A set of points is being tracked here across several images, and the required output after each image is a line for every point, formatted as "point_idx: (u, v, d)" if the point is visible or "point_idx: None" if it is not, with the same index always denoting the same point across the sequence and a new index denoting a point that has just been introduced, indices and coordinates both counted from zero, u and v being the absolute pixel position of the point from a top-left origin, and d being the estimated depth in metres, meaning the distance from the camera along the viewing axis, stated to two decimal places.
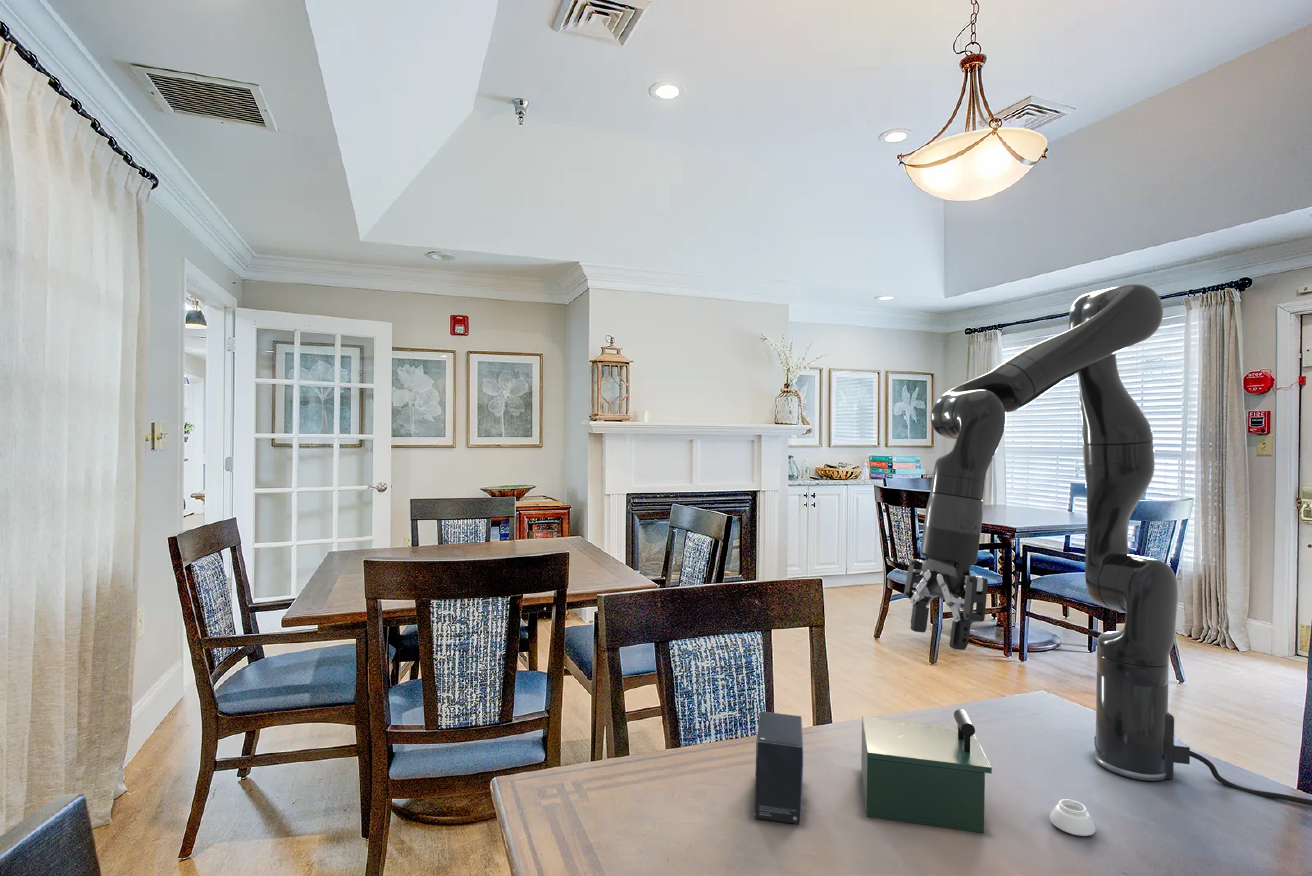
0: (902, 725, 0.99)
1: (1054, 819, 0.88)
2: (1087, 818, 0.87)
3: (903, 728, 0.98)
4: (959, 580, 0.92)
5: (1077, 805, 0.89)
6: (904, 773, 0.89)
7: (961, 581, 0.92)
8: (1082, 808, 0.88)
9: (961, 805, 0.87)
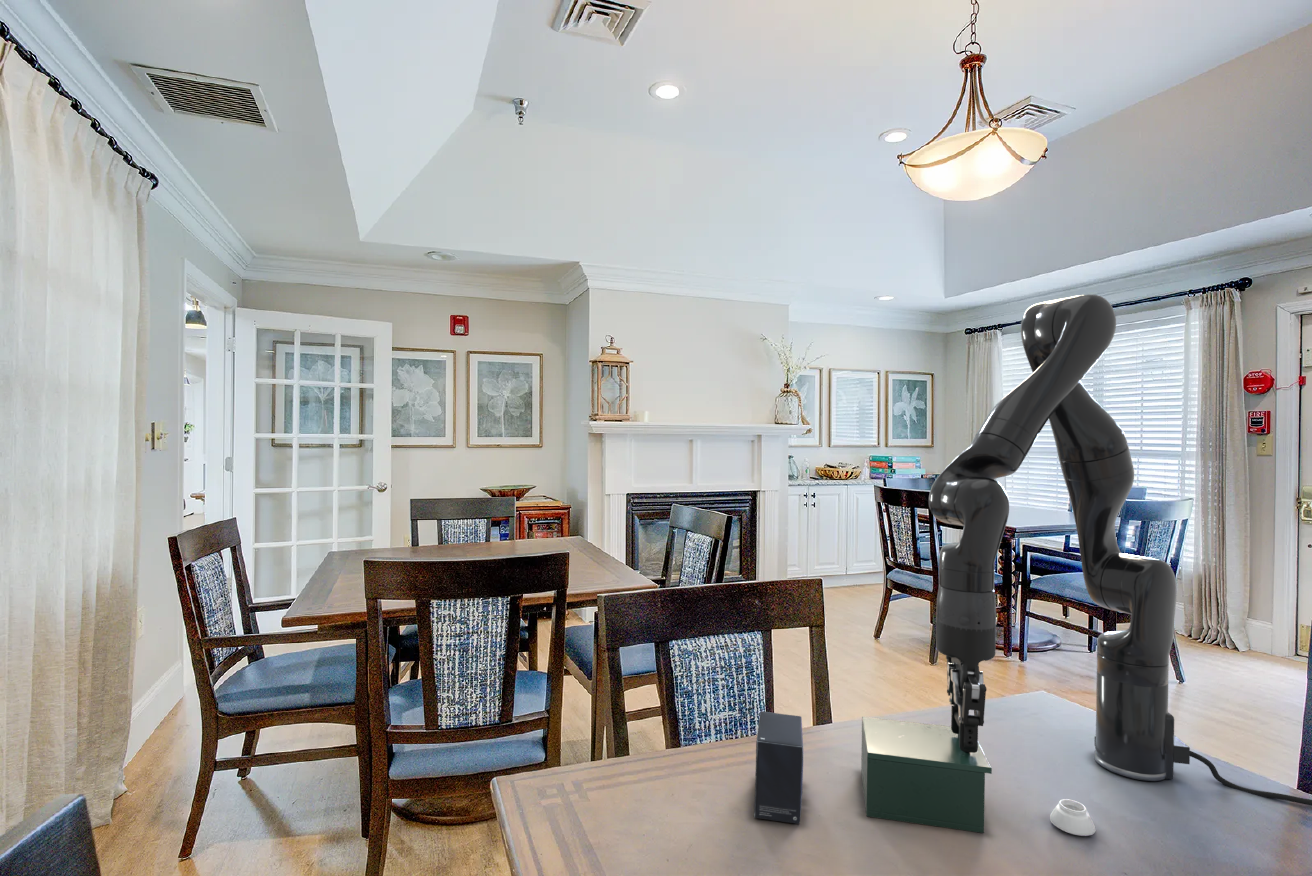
0: (902, 725, 0.99)
1: (1054, 819, 0.88)
2: (1087, 818, 0.87)
3: (903, 728, 0.98)
4: (963, 678, 0.89)
5: (1077, 805, 0.89)
6: (904, 773, 0.89)
7: (965, 679, 0.89)
8: (1082, 808, 0.88)
9: (961, 805, 0.87)
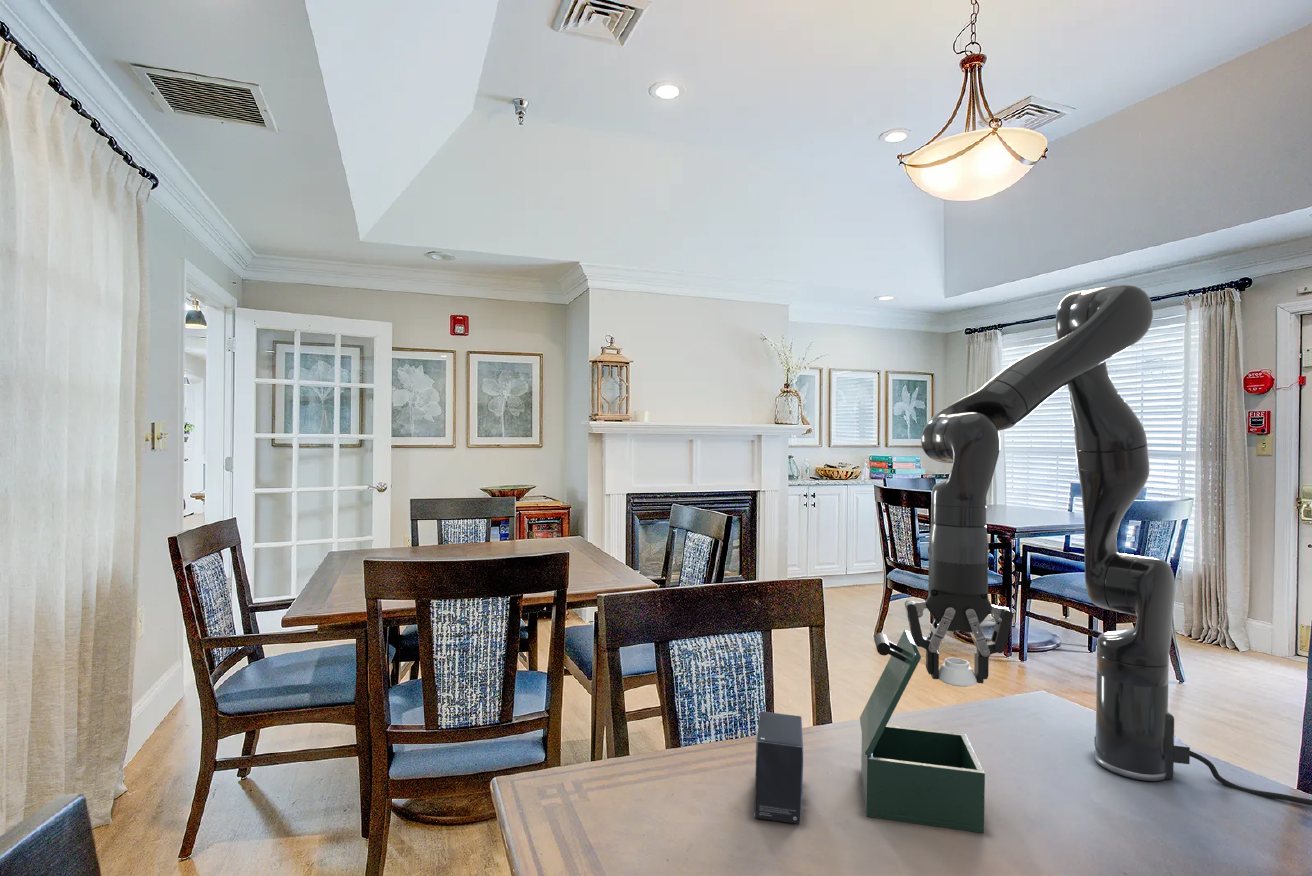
0: (876, 689, 1.00)
1: (939, 674, 0.93)
2: (969, 670, 0.91)
3: (877, 692, 0.99)
4: None
5: (962, 662, 0.93)
6: (904, 773, 0.89)
7: None
8: (966, 664, 0.93)
9: (961, 805, 0.87)
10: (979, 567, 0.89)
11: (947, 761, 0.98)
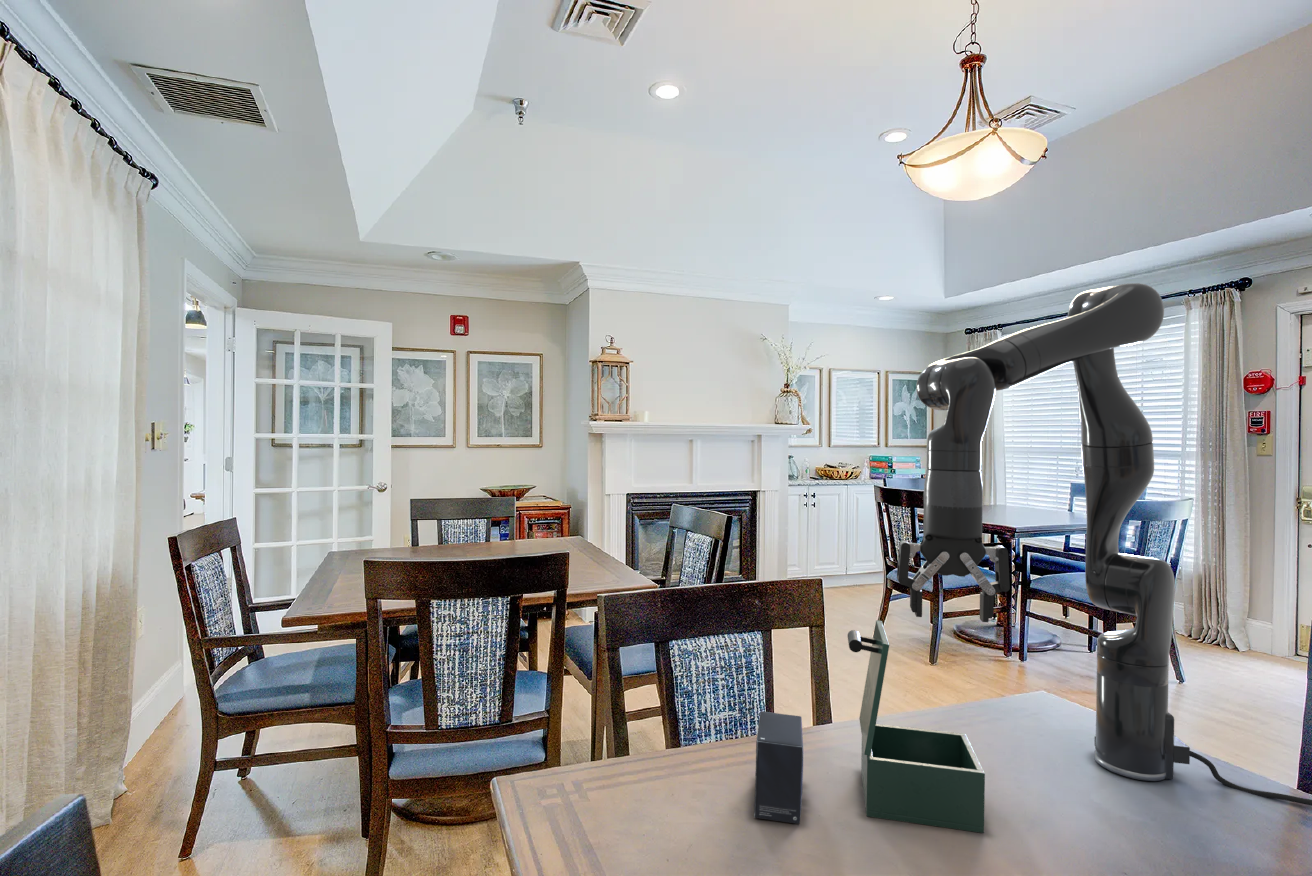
0: (866, 686, 1.00)
1: None
2: None
3: (866, 689, 0.99)
4: None
5: None
6: (904, 773, 0.89)
7: None
8: None
9: (961, 805, 0.87)
10: (973, 511, 0.90)
11: (947, 761, 0.98)
